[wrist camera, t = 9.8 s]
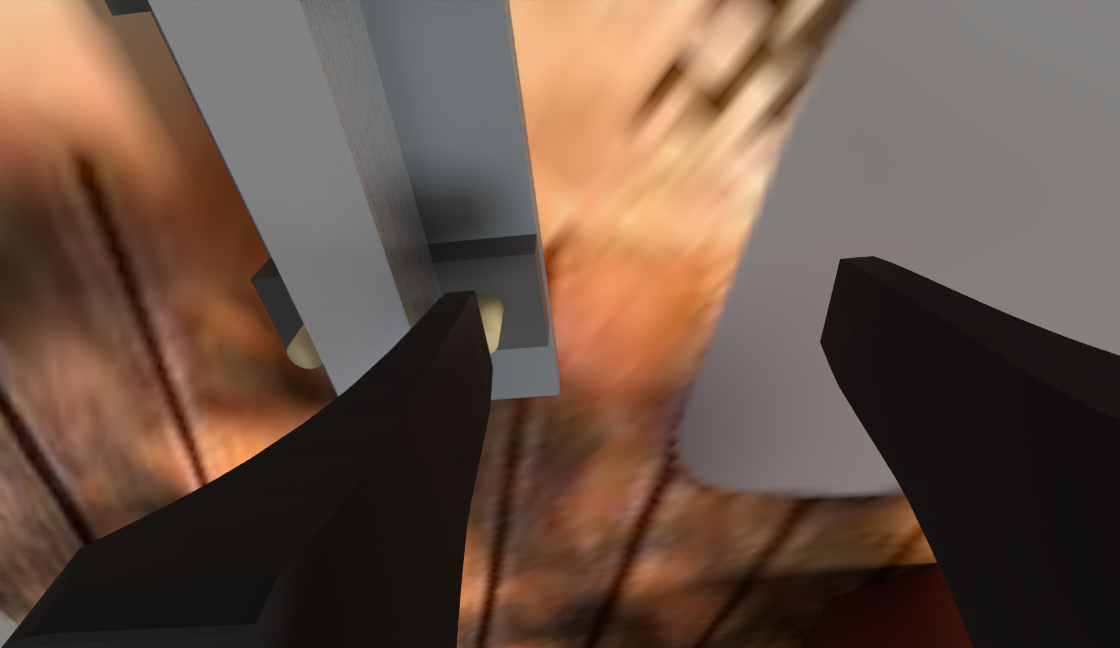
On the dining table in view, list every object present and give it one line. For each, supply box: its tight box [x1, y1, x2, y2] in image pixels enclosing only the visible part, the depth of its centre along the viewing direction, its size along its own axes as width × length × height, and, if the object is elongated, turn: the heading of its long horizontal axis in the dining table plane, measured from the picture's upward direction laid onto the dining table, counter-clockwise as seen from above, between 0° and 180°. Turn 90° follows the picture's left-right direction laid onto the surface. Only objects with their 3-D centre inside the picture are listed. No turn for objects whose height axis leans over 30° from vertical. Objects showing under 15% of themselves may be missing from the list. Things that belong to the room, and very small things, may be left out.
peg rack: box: [105, 0, 560, 400], centre depth 16 cm, size 24×10×5 cm, turn 6°
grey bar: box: [148, 0, 442, 396], centre depth 14 cm, size 24×4×4 cm, turn 6°
